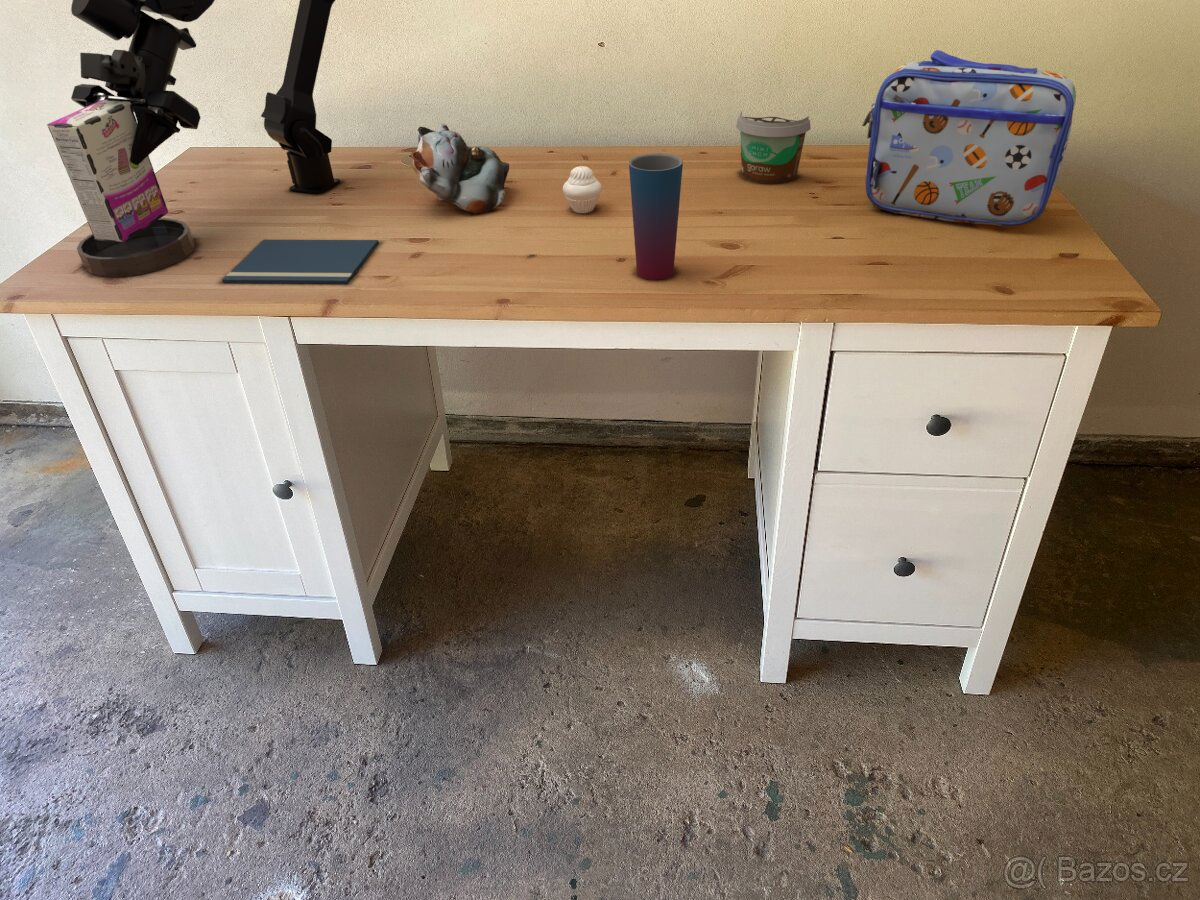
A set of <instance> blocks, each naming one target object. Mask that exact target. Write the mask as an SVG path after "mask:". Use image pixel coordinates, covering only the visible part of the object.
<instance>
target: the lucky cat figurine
mask: <svg viewBox="0 0 1200 900" xmlns="http://www.w3.org/2000/svg"><path fill="white" fill-rule="evenodd" d="M417 131H418V137H417V138H418V139H417V141H418V142H417V148H416V151H411V153H410V158H411V159H412V168H413V171H414V172H415V173H416V174H417V175H418V177H419V181H420V182H421V184H422V185H423V186H424V187H426V189H427V190H429V191H430V192H432V193H433V194H434V195H436V197H437V199H438V201H445V202H447V203H450V204H453V205H455V206H457V207H458V208H460V209H461V210H464V211H465V212H468V213H470V214H474V215H476V214H481V213H486V212H491V211H493V210H494V209H495V208H496V207H498V206H499V205H500V204H501V203H502V201H503V200H504V198H505V196H506V195H505V193H506V190H505V184H506V181H507V178H508V174H509V171H510V163H509V162H506V161H502V160H501V159H500V156H498V154H497V153H496V152H495V151H494V150H492V149H491V148H489V147H486V146H476V145H475V146H472V147H471V146H468V144H467V143H466V141H465V139H463V137H462V135H461V134H460V133H458V132H457V131H454V130H450V128H449V127H448V125H447V124H446V123H441V124H439V125H438V128H437V129H436V130H432V129H430V128H428V127H425V126H419V127H418V128H417Z"/></svg>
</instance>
